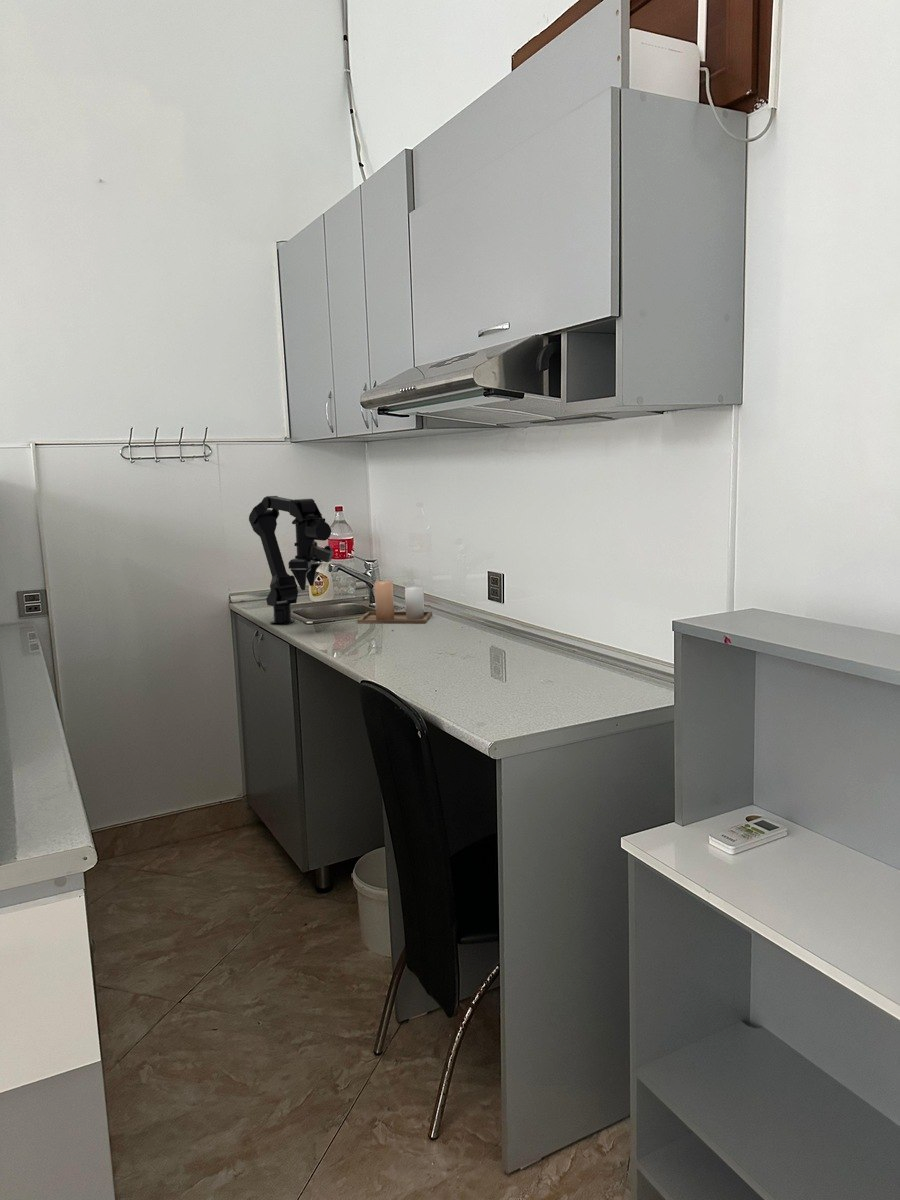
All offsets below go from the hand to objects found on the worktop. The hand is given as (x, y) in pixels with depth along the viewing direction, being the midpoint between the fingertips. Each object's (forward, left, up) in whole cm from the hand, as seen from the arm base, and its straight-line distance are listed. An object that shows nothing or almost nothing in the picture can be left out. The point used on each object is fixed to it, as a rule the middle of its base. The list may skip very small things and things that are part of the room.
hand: (307, 587), depth 277 cm
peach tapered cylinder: (-9, +23, -12) cm, 27 cm away
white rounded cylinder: (-14, +32, -12) cm, 37 cm away
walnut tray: (-11, +26, -13) cm, 31 cm away
